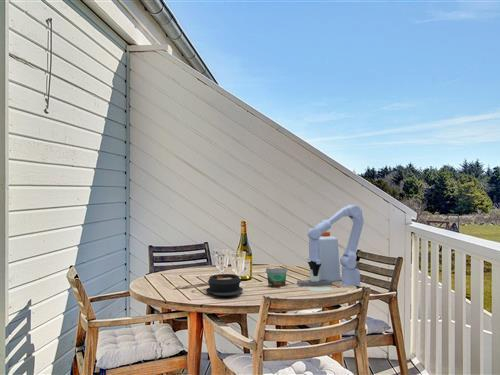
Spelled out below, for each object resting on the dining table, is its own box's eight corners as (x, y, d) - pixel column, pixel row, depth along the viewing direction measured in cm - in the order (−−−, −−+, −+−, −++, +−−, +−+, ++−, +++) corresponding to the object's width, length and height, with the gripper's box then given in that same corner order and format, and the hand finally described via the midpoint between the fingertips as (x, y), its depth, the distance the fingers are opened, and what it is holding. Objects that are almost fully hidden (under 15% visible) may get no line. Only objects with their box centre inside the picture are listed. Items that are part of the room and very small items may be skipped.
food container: (269, 288, 207) (269, 269, 207) (265, 286, 212) (265, 267, 213) (291, 287, 210) (291, 268, 210) (287, 284, 216) (286, 266, 216)
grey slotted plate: (328, 283, 217) (328, 278, 217) (332, 286, 211) (332, 280, 211) (297, 285, 215) (297, 279, 215) (300, 287, 209) (300, 281, 209)
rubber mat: (328, 287, 208) (328, 286, 208) (334, 291, 200) (334, 290, 200) (307, 288, 206) (307, 287, 206) (311, 292, 198) (311, 291, 198)
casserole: (204, 288, 207) (204, 272, 208) (238, 287, 211) (238, 271, 211) (208, 300, 183) (208, 282, 183) (247, 298, 186) (247, 280, 187)
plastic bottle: (308, 278, 234) (307, 231, 235) (330, 276, 238) (330, 230, 239) (319, 283, 219) (318, 233, 220) (343, 281, 223) (342, 232, 224)
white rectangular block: (317, 280, 215) (317, 269, 215) (319, 281, 212) (319, 270, 212) (309, 280, 214) (309, 269, 214) (311, 281, 211) (311, 270, 211)
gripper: (303, 249, 220) (303, 273, 220) (311, 252, 206) (311, 278, 205) (315, 248, 221) (315, 272, 221) (324, 252, 207) (324, 277, 206)
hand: (314, 275), depth 213 cm, fingers closed on white rectangular block, 3 cm apart
